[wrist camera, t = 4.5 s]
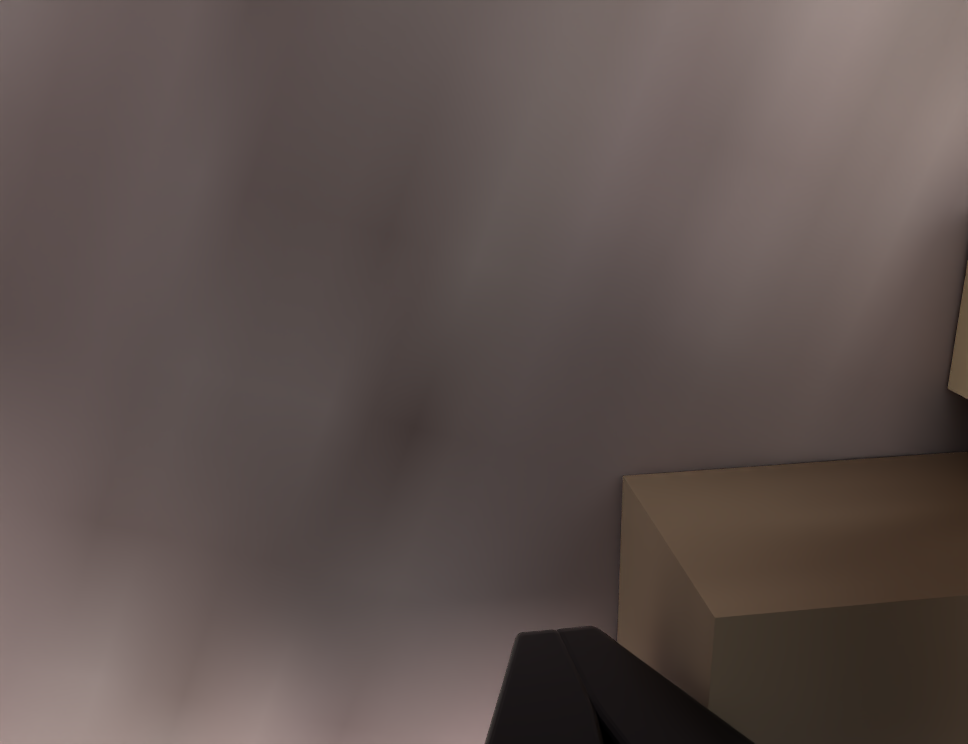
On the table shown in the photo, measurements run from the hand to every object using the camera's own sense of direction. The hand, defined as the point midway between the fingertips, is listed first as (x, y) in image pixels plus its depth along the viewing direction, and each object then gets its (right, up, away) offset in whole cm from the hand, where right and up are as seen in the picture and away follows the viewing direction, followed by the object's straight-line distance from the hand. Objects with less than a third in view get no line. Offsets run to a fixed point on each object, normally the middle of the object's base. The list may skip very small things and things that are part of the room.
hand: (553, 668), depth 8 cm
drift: (+3, +1, +2) cm, 4 cm away
